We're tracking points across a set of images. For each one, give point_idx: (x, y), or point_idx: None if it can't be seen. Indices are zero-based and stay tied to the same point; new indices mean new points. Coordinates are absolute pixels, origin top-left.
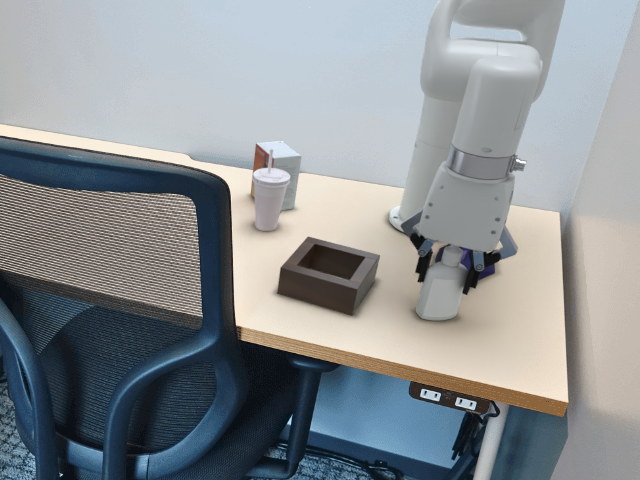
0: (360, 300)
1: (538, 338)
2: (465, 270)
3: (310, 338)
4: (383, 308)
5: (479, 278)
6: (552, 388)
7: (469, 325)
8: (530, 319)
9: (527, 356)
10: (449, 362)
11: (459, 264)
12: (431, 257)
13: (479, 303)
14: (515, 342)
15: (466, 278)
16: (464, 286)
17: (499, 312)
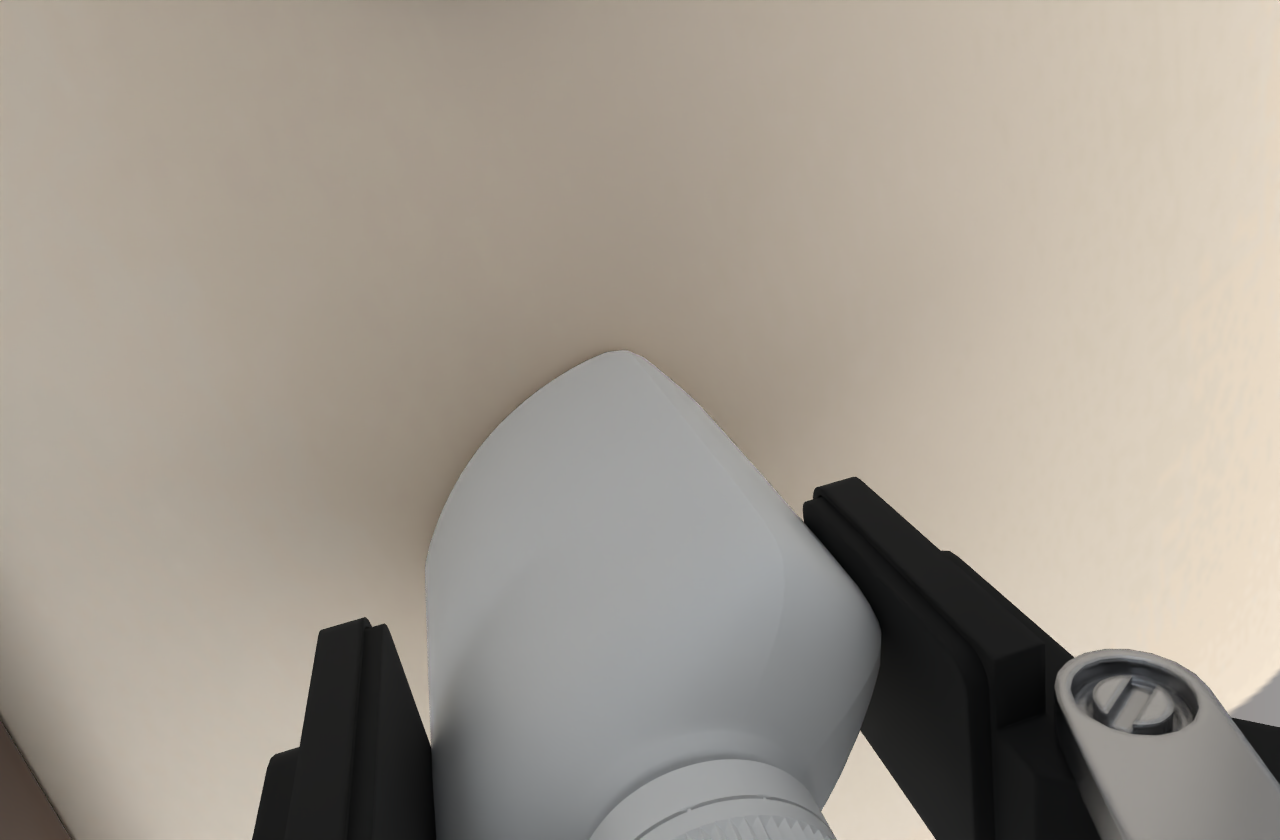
0: (29, 811)
1: (1209, 235)
2: (866, 704)
3: None
4: (220, 695)
5: None
6: (1275, 636)
7: (806, 427)
8: (1151, 3)
9: (1162, 479)
10: None
11: (789, 725)
12: (381, 800)
13: (773, 45)
14: (1091, 392)
15: (912, 804)
16: (866, 729)
17: (940, 75)
